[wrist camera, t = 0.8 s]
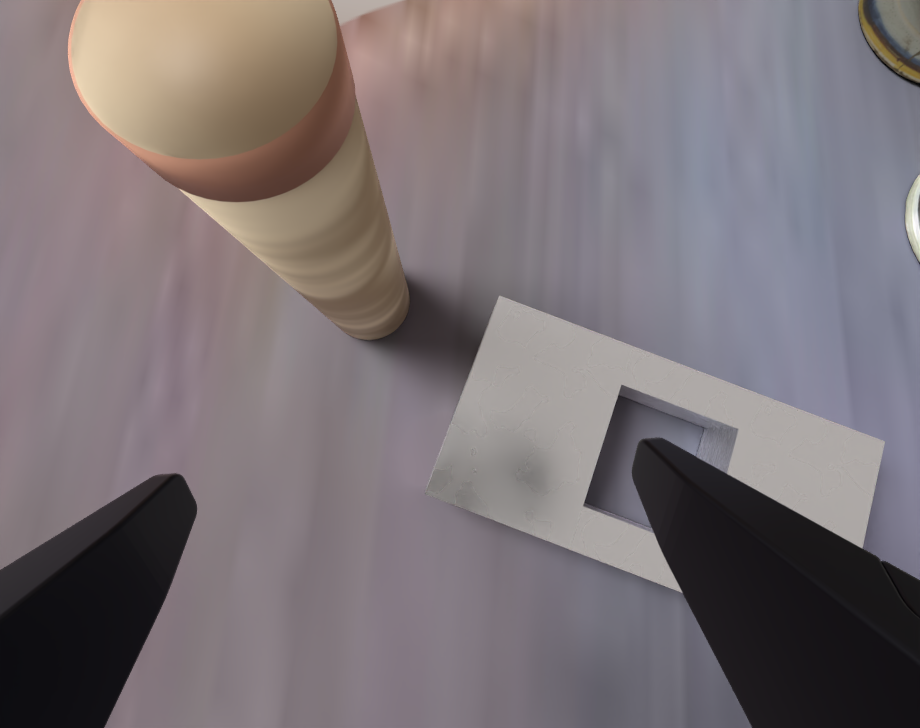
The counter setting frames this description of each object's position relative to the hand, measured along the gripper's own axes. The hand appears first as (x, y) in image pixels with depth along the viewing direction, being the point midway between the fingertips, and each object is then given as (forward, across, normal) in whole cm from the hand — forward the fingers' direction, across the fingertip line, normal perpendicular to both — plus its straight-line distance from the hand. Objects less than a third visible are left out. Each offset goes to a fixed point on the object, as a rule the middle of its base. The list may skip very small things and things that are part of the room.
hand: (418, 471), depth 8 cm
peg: (+15, +3, +2) cm, 15 cm away
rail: (+9, -11, +9) cm, 17 cm away
